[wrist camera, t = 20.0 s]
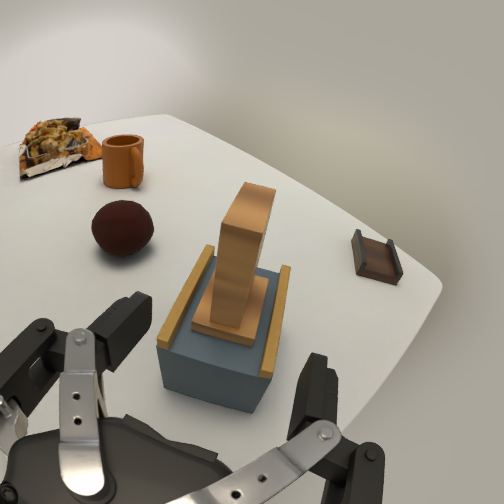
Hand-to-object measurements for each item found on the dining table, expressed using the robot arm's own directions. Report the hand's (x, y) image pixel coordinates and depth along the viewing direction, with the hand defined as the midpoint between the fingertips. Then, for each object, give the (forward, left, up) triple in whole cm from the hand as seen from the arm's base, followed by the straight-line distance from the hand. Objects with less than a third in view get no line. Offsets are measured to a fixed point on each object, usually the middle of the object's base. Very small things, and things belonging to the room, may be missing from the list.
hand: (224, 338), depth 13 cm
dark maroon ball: (+28, 0, -16) cm, 32 cm away
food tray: (+82, +11, -16) cm, 84 cm away
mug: (+50, -5, -16) cm, 52 cm away
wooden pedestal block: (+7, -5, -8) cm, 12 cm away
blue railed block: (+7, -5, -16) cm, 18 cm away
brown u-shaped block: (+10, -37, -16) cm, 42 cm away
